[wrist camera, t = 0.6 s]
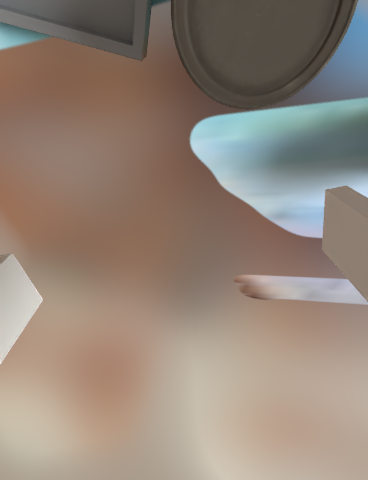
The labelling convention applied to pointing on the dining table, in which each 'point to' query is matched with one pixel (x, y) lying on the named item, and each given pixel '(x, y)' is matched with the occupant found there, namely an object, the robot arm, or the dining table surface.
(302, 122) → the dining table surface
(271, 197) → the dining table surface
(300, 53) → the coffee can
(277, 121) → the dining table surface
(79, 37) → the holder tray
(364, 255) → the robot arm
